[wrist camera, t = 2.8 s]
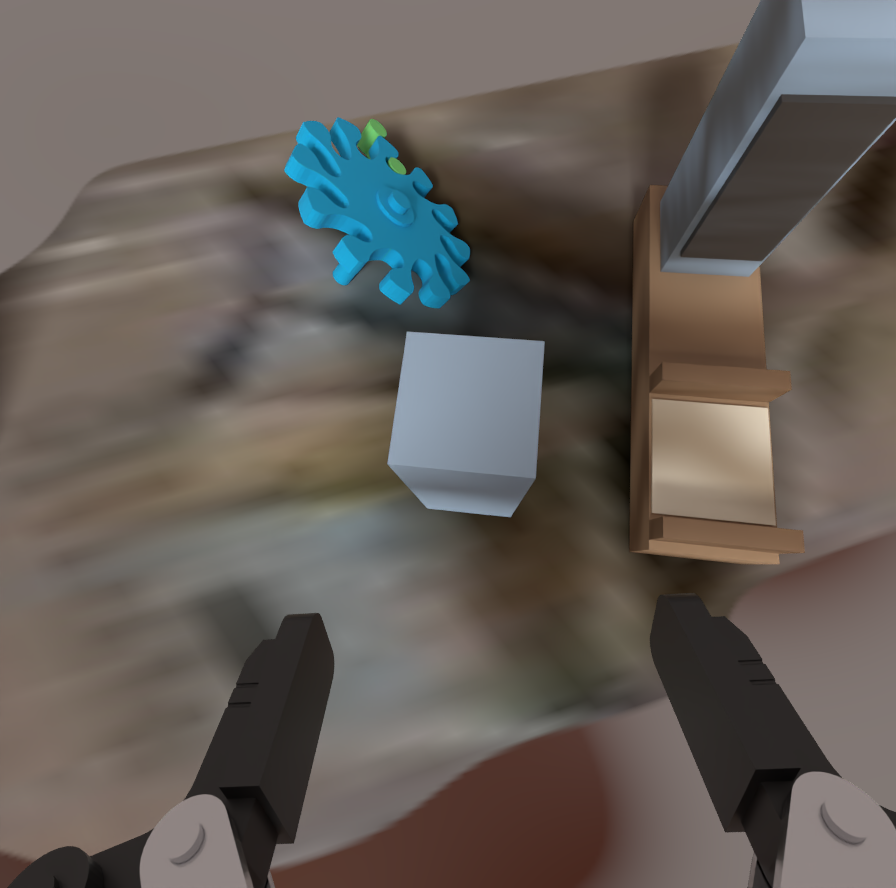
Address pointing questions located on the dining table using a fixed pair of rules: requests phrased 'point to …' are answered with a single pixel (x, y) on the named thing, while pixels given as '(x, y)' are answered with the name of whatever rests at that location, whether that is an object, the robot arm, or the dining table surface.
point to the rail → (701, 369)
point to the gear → (377, 211)
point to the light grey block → (468, 421)
